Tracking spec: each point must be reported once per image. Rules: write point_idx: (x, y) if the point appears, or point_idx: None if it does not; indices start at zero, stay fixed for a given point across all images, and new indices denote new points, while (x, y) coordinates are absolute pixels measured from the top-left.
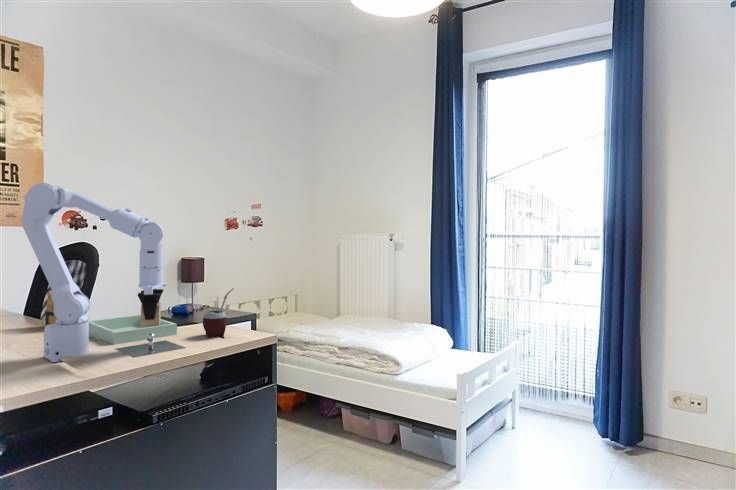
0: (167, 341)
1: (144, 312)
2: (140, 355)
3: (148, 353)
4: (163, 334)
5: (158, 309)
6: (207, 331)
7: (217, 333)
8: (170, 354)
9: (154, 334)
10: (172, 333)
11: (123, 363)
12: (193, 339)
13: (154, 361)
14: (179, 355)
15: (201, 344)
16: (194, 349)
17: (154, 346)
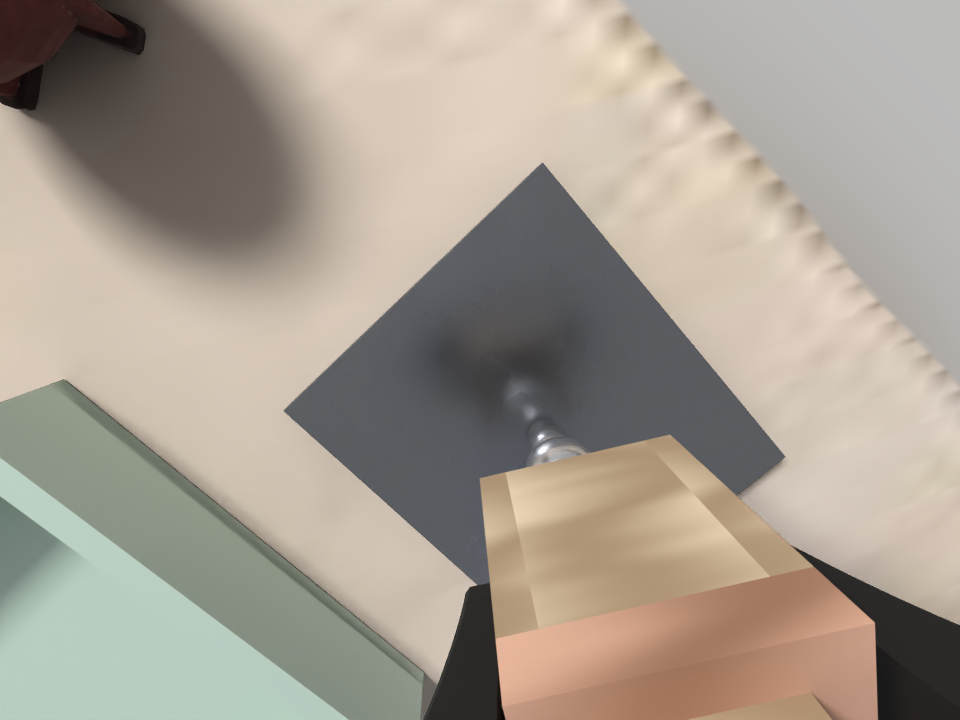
0: (326, 381)
1: None
2: (742, 433)
3: (693, 400)
4: (136, 475)
5: (810, 570)
6: (67, 33)
7: None
8: (640, 261)
9: (194, 532)
10: (69, 418)
11: (821, 482)
12: (133, 208)
13: (811, 315)
14: (677, 183)
15: (317, 84)
16: (497, 106)
17: (490, 426)
